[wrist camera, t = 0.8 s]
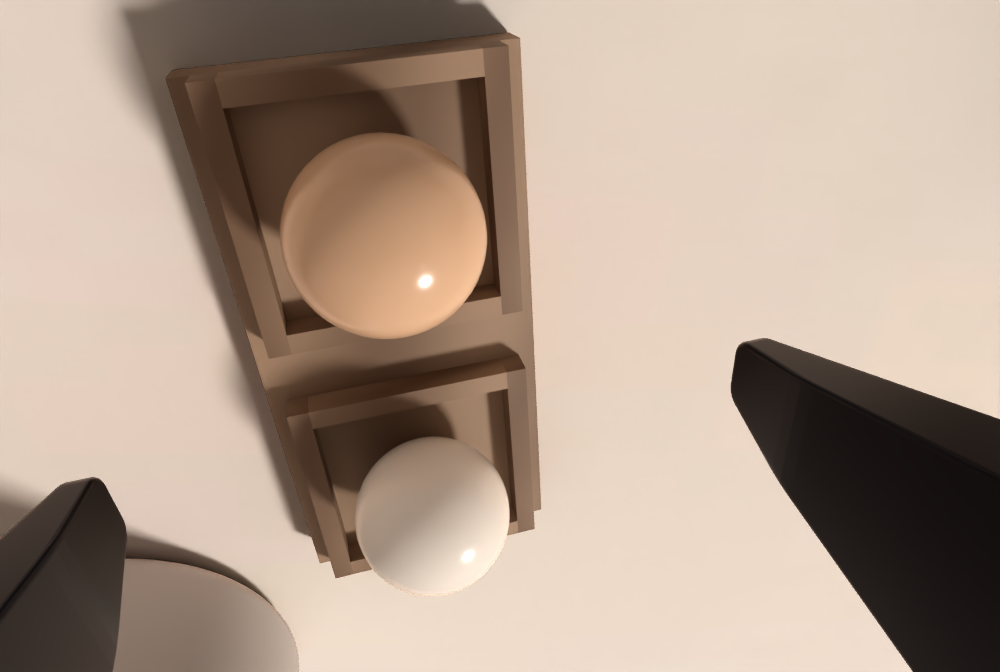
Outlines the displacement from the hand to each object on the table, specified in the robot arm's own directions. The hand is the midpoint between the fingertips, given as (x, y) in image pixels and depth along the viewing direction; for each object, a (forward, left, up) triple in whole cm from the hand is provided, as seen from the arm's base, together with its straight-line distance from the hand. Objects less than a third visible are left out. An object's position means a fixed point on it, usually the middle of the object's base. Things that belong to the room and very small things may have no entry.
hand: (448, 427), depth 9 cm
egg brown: (0, 0, -9) cm, 9 cm away
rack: (0, +5, -10) cm, 11 cm away
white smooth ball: (0, +9, -9) cm, 13 cm away
